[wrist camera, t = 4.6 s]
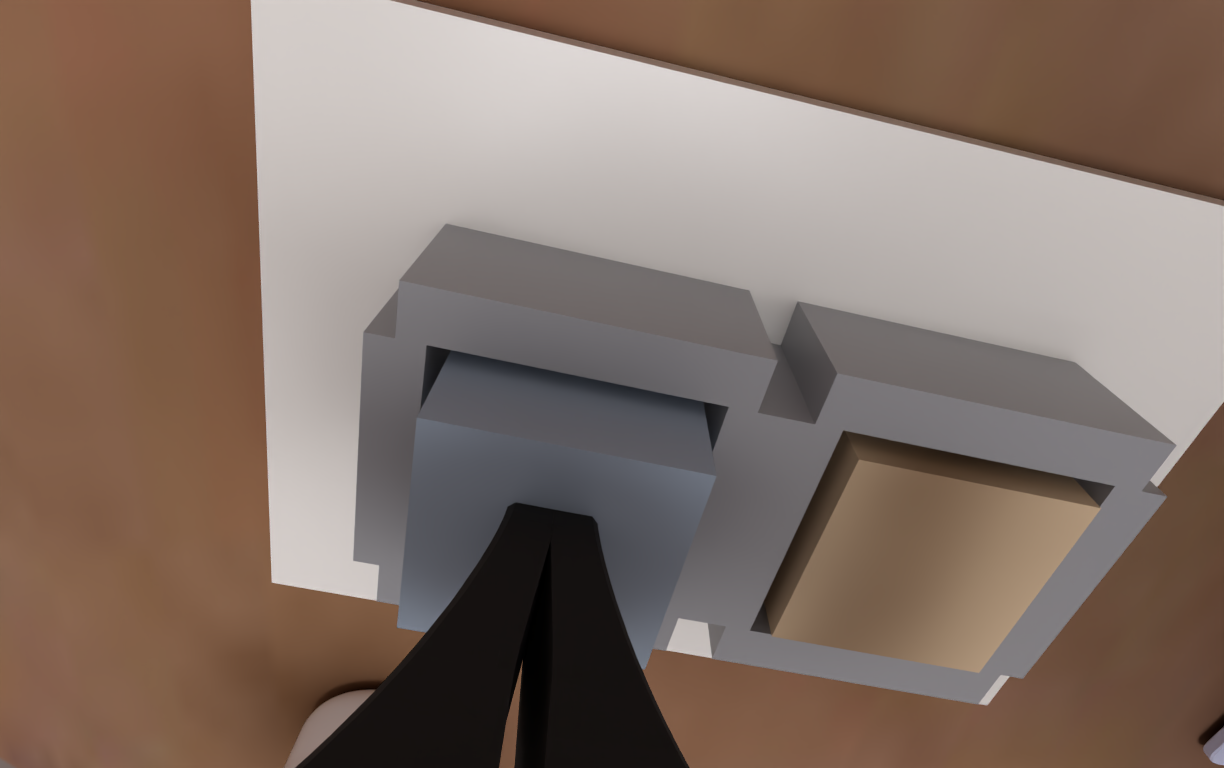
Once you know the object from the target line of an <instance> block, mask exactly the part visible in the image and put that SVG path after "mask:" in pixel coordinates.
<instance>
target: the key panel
mask: <svg viewBox="0 0 1224 768" xmlns="http://www.w3.org/2000/svg"><path fill="white" fill-rule="evenodd" d="M251 15H252V43H253V71H254V99H255V126H256V154H257V182H258V210H259V237H260V265H261V293H262V321H263V348H264V376H265V404H266V432H267V459H268V487H269V515H270V543H271V570H272V583H277V584H283V585H289V586H295V587H301V588H306V589H312V590H318V591H324V592H330V593H336V594H341V595H347V596H353V597H359V598H365V599H371V600H376V601H379V602H384V603H390V604H396V605H399V601H400V591H401V580H402V569H403V559H404V548H405V537H406V527H407V516H408V505H409V495H410V484H411V474H412V463H413V452H414V442H415V431H416V420H417V416H418V414H419V412H420V410H421V408H422V406H423V404H424V402H425V400H426V398H427V397H428V395H429V393H430V391H431V389H432V387H433V385H434V383H435V381H436V379H437V377H438V375H439V373H440V371H441V369H442V367H443V365H444V363H445V361H446V359H447V357H448V355H449V353H450V352H451V350H453V351H458V352H463V353H468V354H473V355H478V356H483V357H488V358H492V359H497V360H502V361H507V362H512V363H517V364H522V365H527V366H532V367H536V368H541V369H546V370H551V371H556V372H561V373H566V374H571V375H575V376H580V377H585V378H590V379H595V380H600V381H605V382H610V383H615V384H619V385H624V386H629V387H634V388H639V389H644V390H649V391H654V392H658V393H663V394H668V395H673V396H678V397H683V398H688V399H693V400H698V401H702V402H703V403H704V409H705V414H706V420H707V426H708V431H709V437H710V442H711V448H712V453H713V459H714V465H715V470H716V479H715V482H714V484H713V487H712V490H711V493H710V495H709V498H708V501H707V503H706V506H705V509H704V511H703V514H702V517H701V519H700V522H699V525H698V528H697V530H696V533H695V536H694V538H693V541H692V544H691V546H690V549H689V552H688V554H687V557H686V560H685V563H684V565H683V568H682V571H681V573H680V576H679V579H678V581H677V584H676V587H675V590H674V592H673V595H672V598H671V600H670V603H669V606H668V608H667V611H666V614H665V616H664V619H663V622H662V625H661V627H660V630H659V633H658V635H657V638H656V641H655V643H654V646H653V649H658V650H664V651H666V650H668V651H674V652H679V653H685V654H691V655H697V656H703V657H709V658H712V659H717V660H723V661H728V662H734V663H740V664H746V665H752V666H758V667H763V668H769V669H775V670H781V671H787V672H793V673H798V674H804V675H810V676H816V677H822V678H827V679H833V680H839V681H845V682H851V683H857V684H862V685H868V686H874V687H880V688H886V689H892V690H897V691H903V692H909V693H915V694H921V695H927V696H932V697H938V698H944V699H950V700H956V701H962V702H967V703H973V704H983V705H988V704H989V702H990V701H991V700H992V698H993V697H994V696H995V695H996V693H997V692H998V691H999V689H1000V688H1001V687H1002V686H1003V684H1004V683H1005V682H1006V681H1007V679H1008V678H1009V677H1016V678H1022V679H1023V678H1024V676H1025V675H1026V674H1027V673H1028V671H1029V670H1030V669H1031V668H1032V666H1033V665H1034V664H1035V663H1036V661H1037V660H1038V659H1039V657H1040V656H1041V655H1042V654H1043V652H1044V651H1045V650H1046V649H1047V647H1048V646H1049V645H1050V644H1051V642H1052V641H1053V640H1054V639H1055V637H1056V636H1057V635H1058V634H1059V632H1060V631H1061V630H1062V629H1063V627H1064V626H1065V625H1066V624H1067V622H1068V621H1069V620H1070V619H1071V617H1072V616H1073V615H1074V613H1075V612H1076V611H1077V610H1078V608H1079V607H1080V606H1081V605H1082V603H1083V602H1084V601H1085V600H1086V598H1087V597H1088V596H1089V595H1090V593H1091V592H1092V591H1093V590H1094V588H1095V587H1096V586H1097V585H1098V583H1099V582H1100V581H1101V580H1102V578H1103V577H1104V576H1105V575H1106V573H1107V572H1108V571H1109V569H1110V568H1111V567H1112V566H1113V564H1114V563H1115V562H1116V561H1117V559H1118V558H1119V557H1120V556H1121V554H1122V553H1123V552H1124V551H1125V549H1126V548H1127V547H1128V546H1129V544H1130V543H1131V542H1132V541H1133V539H1134V538H1135V537H1136V536H1137V534H1138V533H1139V532H1140V531H1141V529H1142V528H1143V527H1144V525H1145V524H1146V523H1147V522H1148V520H1149V519H1150V518H1151V517H1152V515H1153V514H1154V513H1155V512H1156V510H1157V509H1158V508H1159V507H1160V505H1161V504H1162V503H1163V502H1164V500H1165V499H1166V498H1167V496H1166V495H1165V494H1164V493H1163V492H1162V491H1161V490H1160V489H1159V488H1157V487H1158V485H1159V484H1160V483H1161V482H1162V480H1163V479H1164V478H1165V476H1166V475H1167V474H1168V473H1169V471H1170V470H1171V469H1172V467H1173V466H1174V465H1175V464H1176V462H1177V461H1178V460H1179V458H1180V457H1181V456H1182V455H1183V453H1184V452H1185V451H1186V449H1187V448H1188V447H1189V446H1190V444H1191V443H1192V442H1193V440H1194V439H1195V438H1196V437H1197V435H1198V434H1199V433H1200V431H1201V430H1202V429H1203V428H1204V426H1205V425H1206V424H1207V422H1208V421H1209V420H1210V419H1211V417H1212V416H1213V415H1214V413H1215V412H1216V411H1217V410H1218V408H1219V407H1220V406H1221V405H1222V403H1223V402H1224V200H1220V199H1216V198H1212V197H1208V196H1204V195H1200V194H1196V193H1192V192H1188V191H1184V190H1180V189H1176V188H1172V187H1168V186H1164V185H1160V184H1155V183H1151V182H1147V181H1143V180H1139V179H1135V178H1131V177H1127V176H1123V175H1119V174H1115V173H1111V172H1107V171H1103V170H1099V169H1095V168H1091V167H1087V166H1083V165H1079V164H1075V163H1071V162H1067V161H1063V160H1059V159H1055V158H1051V157H1047V156H1042V155H1038V154H1034V153H1030V152H1026V151H1022V150H1018V149H1014V148H1010V147H1006V146H1002V145H998V144H994V143H990V142H986V141H982V140H978V139H974V138H970V137H966V136H962V135H958V134H954V133H950V132H946V131H942V130H938V129H934V128H930V127H925V126H921V125H917V124H913V123H909V122H905V121H901V120H897V119H893V118H889V117H885V116H881V115H877V114H873V113H869V112H865V111H861V110H857V109H853V108H849V107H845V106H841V105H837V104H833V103H829V102H825V101H821V100H817V99H812V98H808V97H804V96H800V95H796V94H792V93H788V92H784V91H780V90H776V89H772V88H768V87H764V86H760V85H756V84H752V83H748V82H744V81H740V80H736V79H732V78H728V77H724V76H720V75H716V74H712V73H708V72H704V71H699V70H695V69H691V68H687V67H683V66H679V65H675V64H671V63H667V62H663V61H659V60H655V59H651V58H647V57H643V56H639V55H635V54H631V53H627V52H623V51H619V50H615V49H611V48H607V47H603V46H599V45H595V44H591V43H586V42H582V41H578V40H574V39H570V38H566V37H562V36H558V35H554V34H550V33H546V32H542V31H538V30H534V29H530V28H526V27H522V26H518V25H514V24H510V23H506V22H502V21H498V20H494V19H490V18H486V17H482V16H478V15H473V14H469V13H465V12H461V11H457V10H453V9H449V8H445V7H441V6H437V5H433V4H429V3H425V2H421V1H417V0H251ZM843 430H844V431H849V432H854V433H859V434H864V435H868V436H873V437H878V438H883V439H888V440H893V441H898V442H903V443H908V444H912V445H917V446H922V447H927V448H932V449H937V450H942V451H947V452H951V453H956V454H961V455H966V456H971V457H976V458H981V459H986V460H991V461H995V462H1000V463H1005V464H1010V465H1015V466H1020V467H1025V468H1030V469H1034V470H1039V471H1044V472H1049V473H1054V474H1059V475H1064V476H1069V477H1073V478H1074V479H1075V480H1076V481H1077V483H1078V484H1079V485H1080V486H1081V487H1082V488H1083V489H1084V490H1085V491H1086V492H1087V493H1088V494H1089V496H1090V497H1091V498H1092V499H1093V500H1094V501H1095V502H1096V503H1097V504H1098V505H1099V506H1100V507H1101V509H1100V511H1099V512H1098V513H1097V515H1096V516H1095V517H1094V519H1093V520H1092V522H1091V523H1090V524H1089V526H1088V527H1087V528H1086V530H1085V531H1084V532H1083V534H1082V535H1081V536H1080V538H1079V539H1078V540H1077V542H1076V543H1075V544H1074V546H1073V547H1072V548H1071V550H1070V551H1069V553H1068V554H1067V555H1066V557H1065V558H1064V559H1063V561H1062V562H1061V563H1060V565H1059V566H1058V567H1057V569H1056V570H1055V571H1054V573H1053V574H1052V575H1051V577H1050V578H1049V579H1048V581H1047V582H1046V584H1045V585H1044V586H1043V588H1042V589H1041V590H1040V592H1039V593H1038V594H1037V596H1036V597H1035V598H1034V600H1033V601H1032V602H1031V604H1030V605H1029V606H1028V608H1027V609H1026V610H1025V612H1024V613H1023V615H1022V616H1021V617H1020V619H1019V620H1018V621H1017V623H1016V624H1015V625H1014V627H1013V628H1012V629H1011V631H1010V632H1009V633H1008V635H1007V636H1006V637H1005V639H1004V640H1003V641H1002V643H1001V644H1000V645H999V647H998V648H997V650H996V651H995V652H994V654H993V655H992V656H991V658H990V659H989V660H988V662H987V663H986V664H985V666H984V667H983V668H982V670H981V671H980V672H979V673H976V672H971V671H965V670H959V669H953V668H948V667H942V666H936V665H931V664H925V663H919V662H914V661H908V660H902V659H897V658H891V657H885V656H879V655H874V654H868V653H862V652H857V651H851V650H845V649H840V648H834V647H828V646H823V645H817V644H811V643H806V642H800V641H794V640H788V639H783V638H777V637H772V635H771V631H770V626H769V622H768V617H767V613H766V608H765V604H764V599H765V597H766V595H767V593H768V591H769V589H770V586H771V584H772V582H773V580H774V578H775V576H776V574H777V571H778V569H779V567H780V565H781V563H782V561H783V559H784V557H785V554H786V552H787V550H788V548H789V546H790V544H791V542H792V539H793V537H794V535H795V533H796V531H797V529H798V527H799V524H800V522H801V520H802V518H803V516H804V514H805V512H806V509H807V507H808V505H809V503H810V501H811V499H812V497H813V494H814V492H815V490H816V488H817V486H818V484H819V482H820V479H821V477H822V475H823V473H824V471H825V469H826V467H827V464H828V462H829V460H830V458H831V456H832V454H833V452H834V449H835V447H836V445H837V443H838V441H839V439H840V437H841V434H842V432H843Z"/></svg>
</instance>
